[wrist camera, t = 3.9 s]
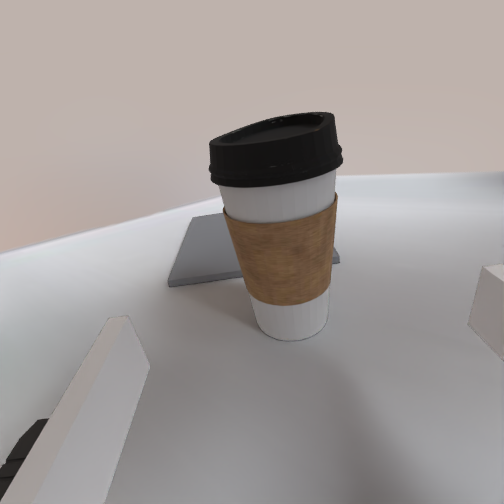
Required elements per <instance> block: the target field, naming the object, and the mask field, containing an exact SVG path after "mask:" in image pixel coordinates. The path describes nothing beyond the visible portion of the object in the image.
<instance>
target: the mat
mask: <svg viewBox="0 0 504 504" xmlns="http://www.w3.org/2000/svg"><path fill="white" fill-rule="evenodd" d="M335 263H340V262H339V255H338V253H337V251H336V250H335V248H334V246H333V257H332V264H335ZM237 277H243V274H242V271H241V268H240V265H239V262H238V259H237V255H236V252H235V249H234V246H233V243H232V239H231V236H230V233H229V230H228V227H227V223H226V220H225V217H224V214H223V213H219V214H212V215H206V216H199V217H193V218H192V220H191V223H190V225H189V228H188V231H187V233H186V236H185V238H184V241H183V243H182V246H181V248H180V251H179V253H178V256H177V258H176V261H175V263H174V266H173V268H172V271H171V273H170V276H169V278H168V284H169V287H174V286H181V285H188V284H195V283H202V282H209V281H216V280H223V279H230V278H237Z"/></svg>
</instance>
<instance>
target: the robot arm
mask: <svg viewBox="0 0 504 504" xmlns="http://www.w3.org/2000/svg"><path fill="white" fill-rule="evenodd" d="M468 325H469V326H470V327H471V328H472V329H473V330H474V331H475V332H476V333H477V335H478V336H479V337H480V338H481V339H482V340H483V341H484V342H485V343H486V344H487V345H488V346H489V347H490V348H491V349H492V350H493V351H494V352H495V353H496V354H497V355H498V356H499V357H500V358H501V359H502V360H503V361H504V264H497V265H490V266H482V270H481V274H480V278H479V282H478V286H477V290H476V294H475V298H474V302H473V306H472V310H471V314H470V318H469V322H468ZM149 369H150V364H149V361H148V359H147V357H146V355H145V352H144V350H143V348H142V346H141V343H140V341H139V339H138V336H137V334H136V332H135V330H134V327H133V325H132V323H131V320H130V318H129V316H121V317H113V318H108V320H107V322H106V324H105V325H104V327H103V329H102V330H101V332H100V334H99V335H98V337H97V339H96V340H95V342H94V344H93V345H92V347H91V349H90V351H89V352H88V354H87V356H86V357H85V359H84V361H83V362H82V364H81V366H80V367H79V369H78V371H77V373H76V374H75V376H74V378H73V379H72V381H71V383H70V384H69V386H68V388H67V389H66V391H65V393H64V395H63V396H62V398H61V400H60V401H59V403H58V405H57V406H56V408H55V410H54V411H53V413H52V415H51V417H50V418H48V419H40V420H37V421H36V422H35V423H34V424H33V425H32V426H31V428H30V429H29V430H28V431H27V432H26V433H25V434H24V435H23V436H22V437H21V438H20V439H19V441H18V442H17V444H16V445H15V447H14V448H13V450H12V451H11V453H10V455H9V456H8V458H7V459H6V463H5V464H3V465H2V467H1V469H0V504H105V501H106V498H107V495H108V492H109V489H110V486H111V483H112V480H113V477H114V474H115V471H116V468H117V465H118V462H119V459H120V456H121V453H122V450H123V447H124V444H125V441H126V438H127V435H128V432H129V429H130V426H131V423H132V420H133V417H134V414H135V411H136V408H137V405H138V402H139V399H140V396H141V393H142V390H143V387H144V384H145V381H146V378H147V375H148V372H149Z"/></svg>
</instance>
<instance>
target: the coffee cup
mask: <svg viewBox="0 0 504 504" xmlns="http://www.w3.org/2000/svg"><path fill="white" fill-rule="evenodd" d="M209 146H210V163H211V164H210V166H209V171H210V172H211V181H212V182H213V183H215V184H217V185H218V186H219V189H220V192H221V196H222V199H223V203H224V208H223V214H224V217H225V220H226V223H227V227H228V230H229V233H230V236H231V239H232V243H233V246H234V249H235V252H236V255H237V259H238V262H239V265H240V268H241V271H242V274H243V278H244V281H245V284H246V287H247V290H248V292H249V296H250V299H251V303H252V306H253V310H254V313H255V317H256V320H257V323H258V325H259V327H260V329H261V330H262V331H263V332H264V333H265V334H267V335H268V336H270V337H272V338H275V339H279V340H284V341H297V340H303V339H306V338H309V337H311V336H313V335H315V334H317V333H318V332H319V331H320V330H321V329H322V328H323V327H324V326H325V324H326V322H327V318H328V307H329V289H330V280H331V269H332V257H333V246H334V234H335V223H336V211H337V199H338V196H337V193H336V192H335V180H336V168H338V167H339V166H340V165H341V164H342V163H343V158H342V155H341V152H342V148H341V146H340V145H339V144H338V140H337V134H336V126H335V117H334V115H333V114H331V113H327V112H310V113H309V112H308V113H299V114H292V115H285V116H280V117H274V118H270V119H266V120H263V121H260V122H257V123H254V124H251V125H248V126H245V127H242V128H240V129H237V130H234V131H232V132H229V133H227V134H224V135H222V136H219V137H217V138H215V139H213V140H211V141H210V143H209Z"/></svg>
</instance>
